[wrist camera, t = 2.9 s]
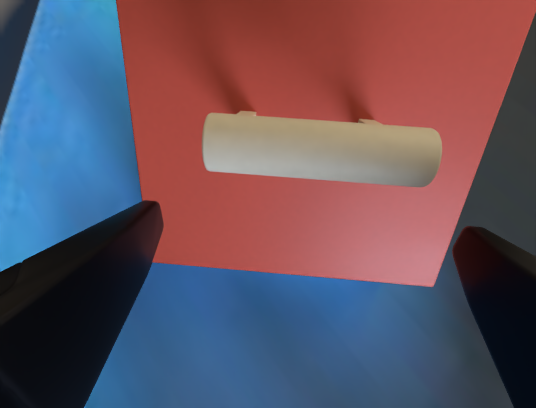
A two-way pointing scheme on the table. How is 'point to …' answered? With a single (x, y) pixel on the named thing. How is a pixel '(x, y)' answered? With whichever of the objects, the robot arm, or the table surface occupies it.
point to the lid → (315, 127)
